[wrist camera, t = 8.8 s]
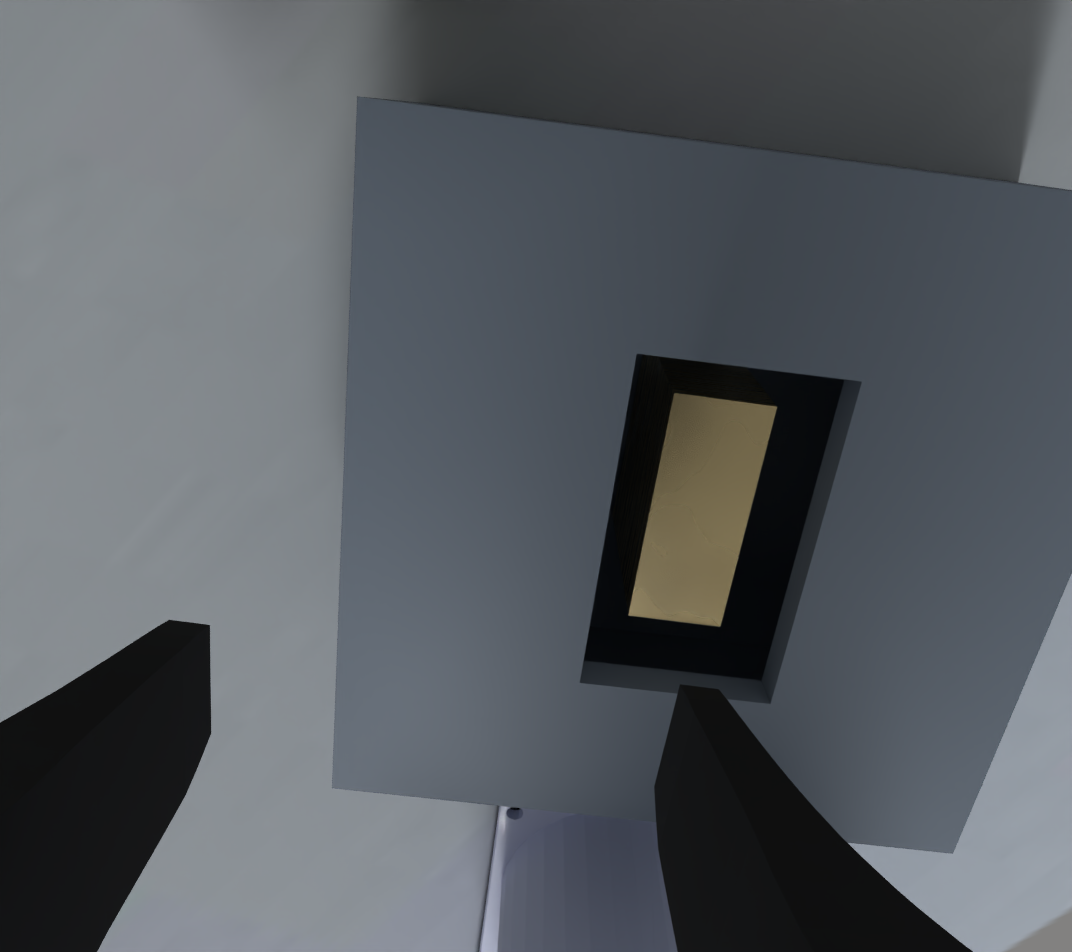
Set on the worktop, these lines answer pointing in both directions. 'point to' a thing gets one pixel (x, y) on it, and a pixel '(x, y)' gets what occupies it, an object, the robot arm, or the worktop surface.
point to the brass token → (688, 485)
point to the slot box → (783, 486)
